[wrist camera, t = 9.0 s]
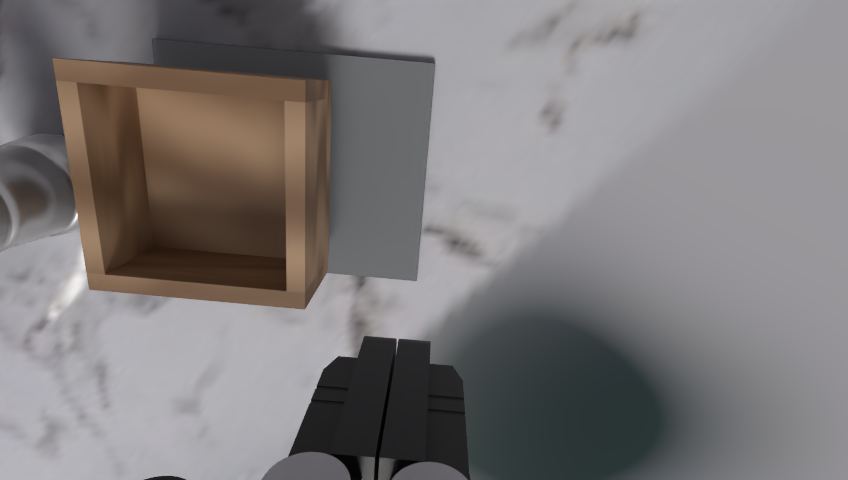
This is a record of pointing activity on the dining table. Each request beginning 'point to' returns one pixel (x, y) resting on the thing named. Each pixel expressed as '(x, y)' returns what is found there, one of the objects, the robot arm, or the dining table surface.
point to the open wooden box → (199, 180)
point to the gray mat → (353, 146)
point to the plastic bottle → (35, 190)
